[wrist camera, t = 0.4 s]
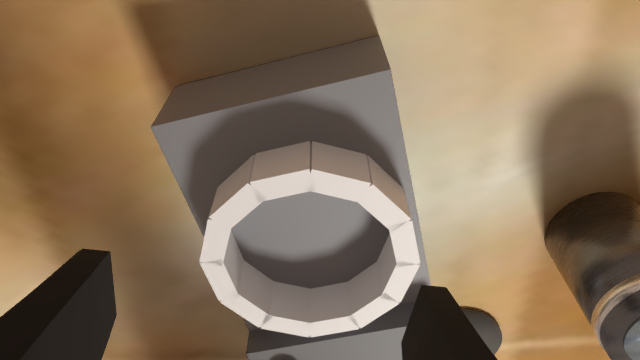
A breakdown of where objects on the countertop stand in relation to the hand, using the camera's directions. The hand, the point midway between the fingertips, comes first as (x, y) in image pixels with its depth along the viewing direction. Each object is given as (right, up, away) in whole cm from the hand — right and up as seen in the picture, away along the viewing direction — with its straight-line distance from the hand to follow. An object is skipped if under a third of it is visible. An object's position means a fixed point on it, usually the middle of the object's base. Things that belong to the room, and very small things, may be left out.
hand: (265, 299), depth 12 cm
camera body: (+1, +2, +11) cm, 11 cm away
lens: (+14, 0, +12) cm, 18 cm away
